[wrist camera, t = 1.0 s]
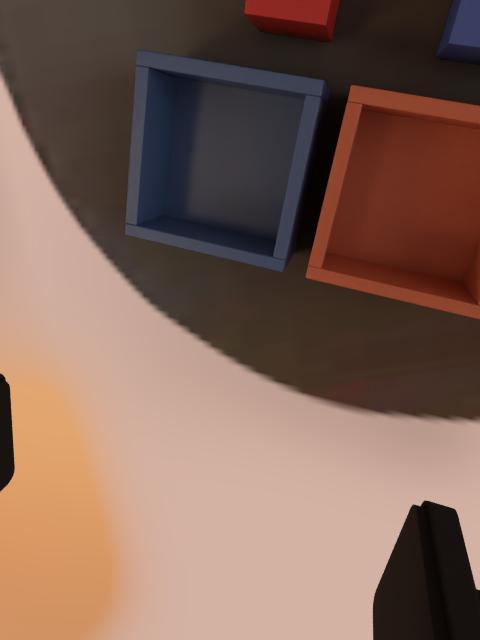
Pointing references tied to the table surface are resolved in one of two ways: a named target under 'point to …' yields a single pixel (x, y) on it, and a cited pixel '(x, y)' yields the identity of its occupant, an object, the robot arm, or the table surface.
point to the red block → (294, 17)
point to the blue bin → (222, 157)
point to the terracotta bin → (404, 202)
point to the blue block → (461, 33)
